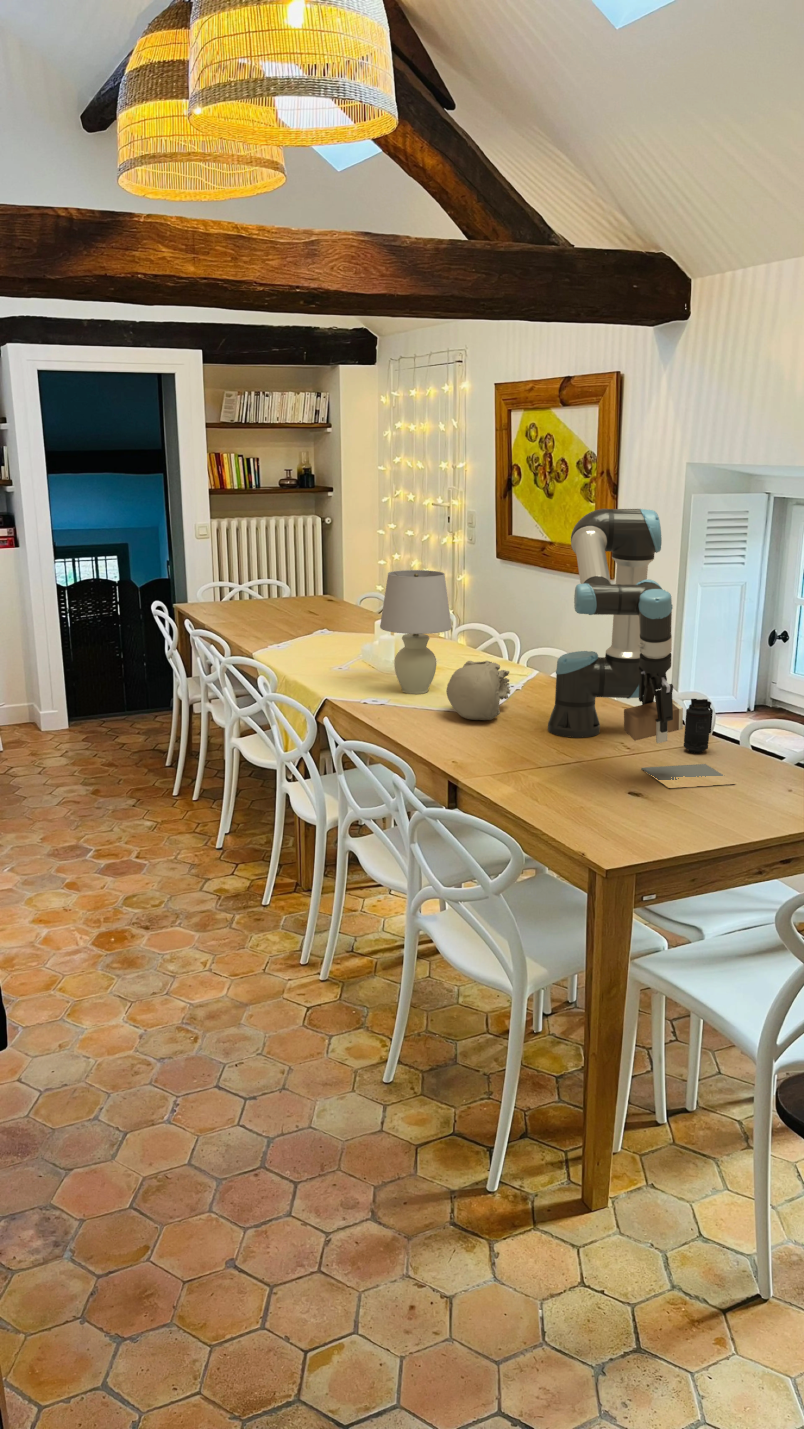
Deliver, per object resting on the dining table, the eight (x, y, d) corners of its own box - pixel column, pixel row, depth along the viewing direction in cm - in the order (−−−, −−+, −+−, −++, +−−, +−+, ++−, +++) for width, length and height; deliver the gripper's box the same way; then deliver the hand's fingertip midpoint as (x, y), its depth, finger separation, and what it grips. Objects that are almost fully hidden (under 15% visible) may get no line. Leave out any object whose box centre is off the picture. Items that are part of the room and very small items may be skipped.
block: (623, 709, 267) (671, 697, 269) (624, 730, 270) (670, 718, 272) (634, 719, 262) (682, 708, 264) (634, 740, 264) (682, 729, 267)
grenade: (690, 755, 290) (695, 702, 286) (678, 749, 296) (682, 696, 292) (714, 753, 292) (718, 700, 288) (701, 747, 298) (705, 695, 294)
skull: (511, 640, 330) (447, 639, 332) (511, 684, 310) (444, 684, 312) (510, 694, 342) (449, 693, 344) (510, 741, 322) (445, 740, 324)
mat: (641, 769, 277) (641, 767, 277) (705, 766, 281) (705, 763, 280) (668, 789, 262) (668, 786, 262) (735, 784, 265) (735, 782, 265)
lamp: (371, 685, 369) (371, 570, 359) (436, 681, 376) (438, 568, 366) (391, 701, 347) (392, 579, 337) (460, 697, 354) (463, 576, 344)
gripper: (623, 641, 266) (625, 722, 277) (659, 671, 250) (659, 756, 260) (651, 635, 267) (651, 716, 278) (689, 664, 251) (687, 749, 262)
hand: (655, 735), depth 269 cm, fingers closed on block, 6 cm apart
